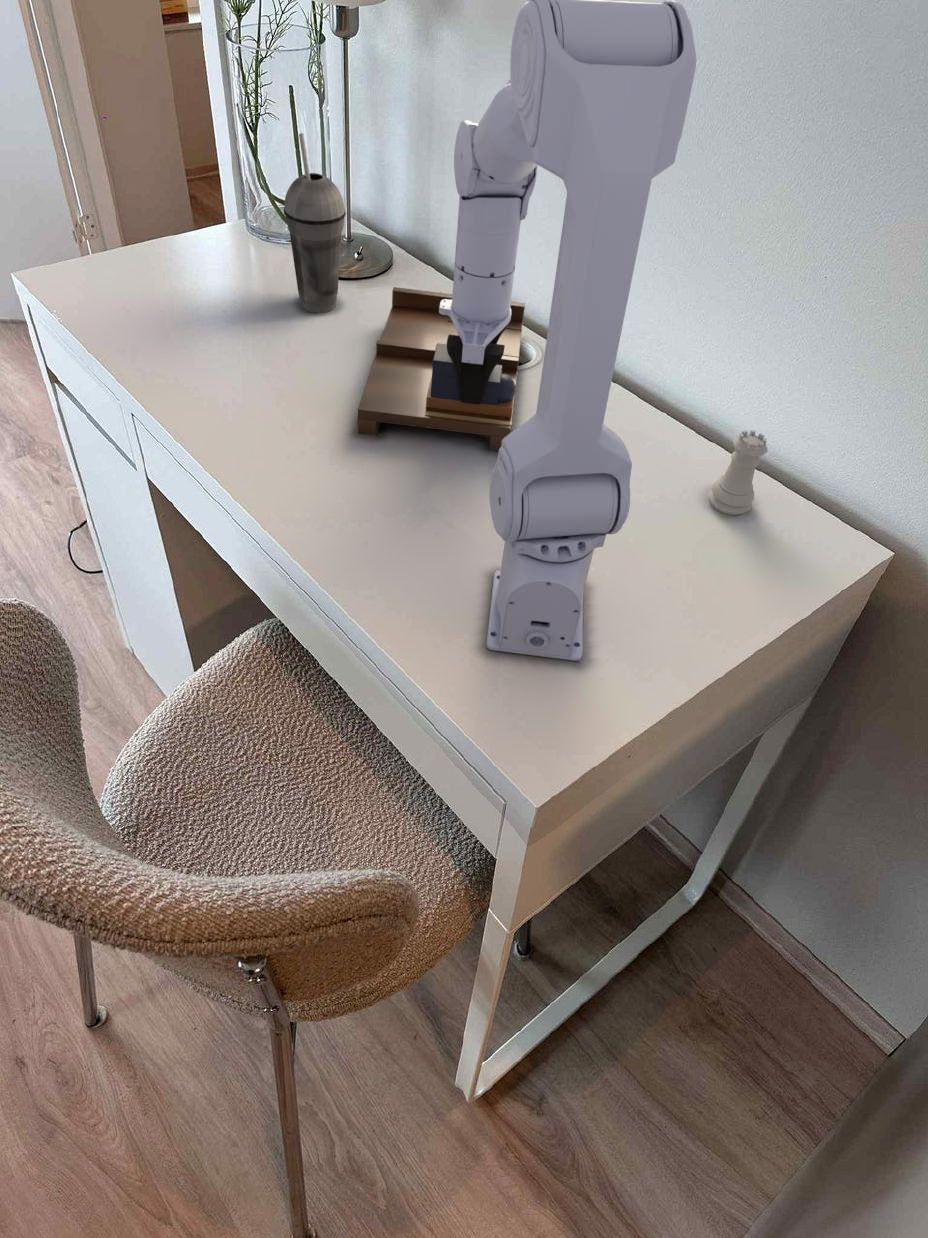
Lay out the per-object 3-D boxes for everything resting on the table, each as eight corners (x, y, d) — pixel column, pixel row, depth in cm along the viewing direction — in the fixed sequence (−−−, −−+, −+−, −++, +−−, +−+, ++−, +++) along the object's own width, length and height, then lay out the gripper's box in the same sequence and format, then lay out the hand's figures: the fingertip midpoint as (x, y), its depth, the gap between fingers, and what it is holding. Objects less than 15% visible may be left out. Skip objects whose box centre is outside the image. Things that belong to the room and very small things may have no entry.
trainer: (514, 397, 95) (520, 351, 92) (512, 417, 93) (518, 371, 89) (430, 387, 96) (433, 341, 92) (426, 407, 93) (428, 360, 89)
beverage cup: (354, 314, 111) (352, 143, 97) (297, 320, 109) (287, 146, 95) (338, 288, 116) (334, 120, 102) (283, 293, 114) (271, 123, 99)
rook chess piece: (698, 493, 91) (721, 427, 85) (735, 486, 92) (759, 421, 87) (722, 520, 88) (746, 454, 83) (759, 513, 90) (786, 447, 84)
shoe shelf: (507, 452, 93) (513, 411, 90) (357, 433, 94) (357, 392, 90) (520, 340, 110) (525, 302, 107) (392, 325, 110) (393, 286, 107)
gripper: (451, 227, 88) (442, 351, 98) (433, 293, 78) (425, 424, 88) (521, 236, 88) (505, 359, 98) (512, 303, 78) (496, 433, 88)
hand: (472, 390), depth 93 cm, fingers closed on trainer, 4 cm apart
